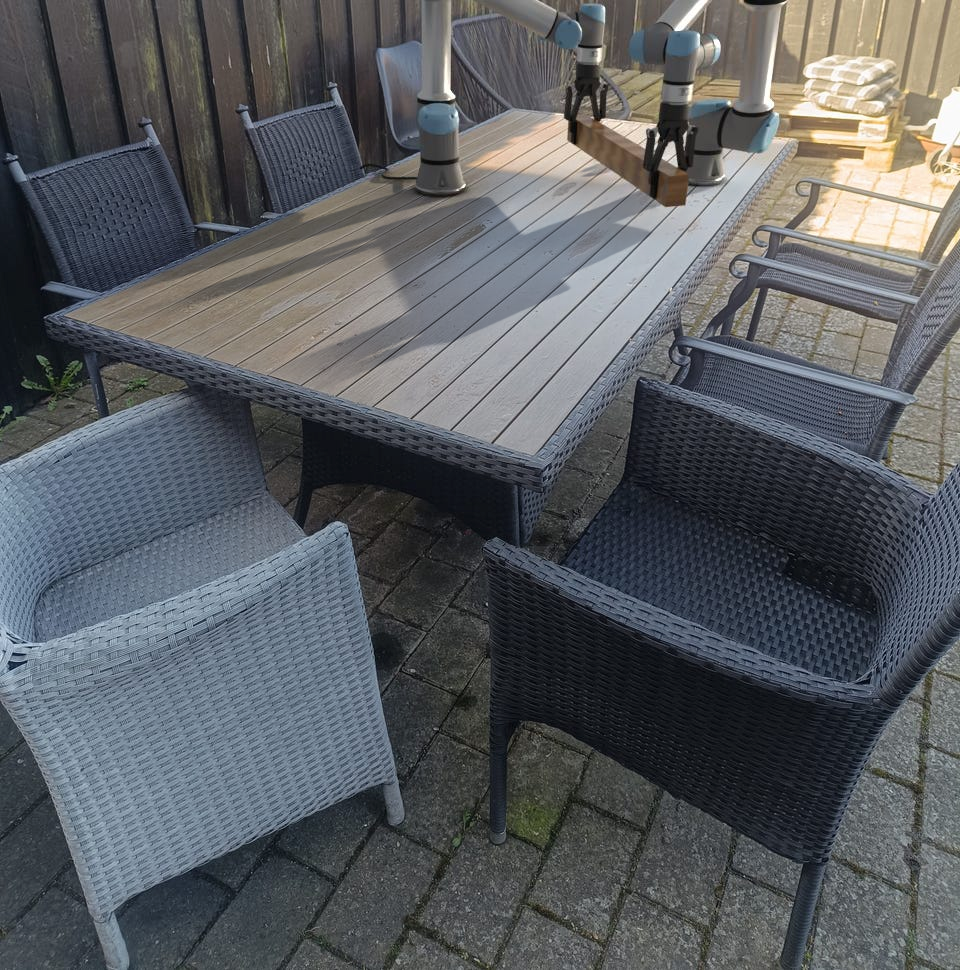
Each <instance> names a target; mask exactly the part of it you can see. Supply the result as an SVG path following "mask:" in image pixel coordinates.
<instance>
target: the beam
mask: <svg viewBox="0 0 960 970" xmlns="http://www.w3.org/2000/svg"><path fill="white" fill-rule="evenodd" d="M575 121H576V122H577V136H576V145H574V146H575V147H576V148H578V149H579V150H580V151H582V152H584V153H585V154H587V155H588V156H589V157H591V158H592V159H594V160H595V161H597V162H598V163H599V164H601V165H602V166H604V167H606V168H607V169H609V170H610V171H611V172H613V173H615V175H618V176H619V177H620V178H621V179H623V180H625V181H626V182H628V183H629V184H630V185H632V186H633V187H635V188H636V189H637V190H639V191H641V192H643V194H645V195H646V196H648V197H650V196H649V195H650V186H651V185H649V184H648V179H649V171H647V170H645V169H644V168H643V161H644V155H645V147H643V146H641V145H639V144H638V143H636V142H635V141H633V140H630V139H629V138H627V137H626V136H624V135H623V134H620V133H618V132H617V131H615V130H614V129H612V128H610V127H609V126H606V125H605V124H603V123H602V122H601V121H600V122H598V121H596V120H595V119H594V117H592V116H589V115H588V114H586V113H578V114H577V117H576V120H575ZM566 140H567V142H569V143H570V144H572V143H571V133H570V132H569V121H567V137H566ZM653 155H654V153H653ZM677 167H678V166H676V165H674V164H672V163H670V162H669V161H667V160H665V159H663V158H662V159H661V162H660V164H659V167H658V170H657V172H658V173H659V182H658V190H657V198H656V199H653V198H652V197H650V198H651V199H653V200H654V201H655V202H657V203H659V204H660V205H662V207H665V208H671V207H683V206H686V204H687V196H688V189H689V184H688V182H689V174H687V173H686V172H684V171H682V170H680V169H679V168H677Z"/></svg>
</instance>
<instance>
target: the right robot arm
mask: <svg viewBox="0 0 960 970" xmlns="http://www.w3.org/2000/svg"><path fill="white" fill-rule="evenodd" d="M788 1H789V0H743V4H744V5H745V6H746V7H747V17H746V27H745V36H744V45H743V54H742V62H741V63H742V64H741V72H740V82H739V92H738V98H737V99H736V100H735V101H734V102H733V103H731V100H729V99H726V98H714V99H713V98H712V99H704V100H699V101H695V102H693V104H691V101H692V99H693V91H694V84H695V78H696V77H695V76H696V72H697V71H699V70H705V69H708V68H709V67H710V66H712V65H714V64H715V63H716V62H717V61H718V59H719V57H720V55H721V51H722V49H721V42H720V41H719V38H718V37H717V36H715V35H714V34H711V33H701V34H700V33H699V32H698V31H697V30H696V31H695V30H691V29H690V28H691V27H692V26H693V24H694V23H695V22H696V21H697V19H698V18H699V17H700V16H701V15H702V13H703V12H704V11H705V10H706V9H707V7H708V6H709V5H710V4H711V2H713V0H674V1H673V2H672V3H671V4H669V6H668V8H667V9H665V11H664V12H663V13H662V14H661V15H660V17H659V18H658V19H657V20H656V21H655V23H654V24H653V25H652V26H651V27H650V29H646V28H645V29H638V30H636V31H634V32H633V34H632V36H631V38H630V41H629V48H628V49H629V57H630V58H631V60H632V61H633V62H635V63H641V64H644V65H654V66H655V65H656V66H664V67H663V68H664V70H663V78H662V85H661V93H660V100H661V101H660V102H659V110H658V111H659V112H658V122H657V124H656V126H655V127H652V128H649V127H648V128H646V130H645V135H646V143H645V147H644V149H645V155H644V161H643V168H644V169H645V170H647V171H649V179H648V184H649V185H651V186H650V195H649V196H648V197H650V198H651V197H652V198H651V199H653V200H654V199H656V198H657V190H658V182H659V173H658V172H657V170H658V167H659V164H660V162H661V159H663V156H664V154H665V151H666V148H667V147H669V144H670V143H672V142H673V143H674V147H675V148H674V149H675V155H676V163H677V166H676V167H677V168H679V169H680V170H682V171H684V172H686V173H687V174H689V182H688V185H693V186H714V185H715V186H716V185H720V184H722V183H723V182H724V181H725V177H726V176H725V175H726V173H725V167H724V160H723V150H724V149H727V150H733V151H738V152H744V153H747V154H762V153H764V152H766V151H767V150H768V149H769V147H770V146H771V144H772V143H773V141H774V139H775V136H776V134H777V131H778V129H779V124H780V114H779V113H777V112H776V111H774V106H775V104H774V101H772V99H771V98H770V96H771V88H772V81H773V80H772V79H773V73H774V65H775V58H776V50H777V43H778V34H779V27H780V20H781V13H782V7H783V6H784V5H785V4H786V3H788ZM731 105H732V106H731ZM657 134H658V135H659V137H658V135H657ZM685 134H686V135H685ZM684 135H685V138H684ZM657 137H658V140H657V145H656V138H657ZM684 139H685V140H684ZM684 141H685V142H684ZM655 145H656V148H655ZM653 154H654V155H653Z"/></svg>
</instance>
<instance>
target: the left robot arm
mask: <svg viewBox="0 0 960 970" xmlns="http://www.w3.org/2000/svg"><path fill="white" fill-rule="evenodd" d="M472 1H473V2H475V3H477V4H479V5H481V6H483V7H485V8H487V9H489V10H490V11H492V12H494V13H496V14H498V15H500V16H502V17H504V18H506V19H507V20H509V21H511V22H513V23H515V24H517V25H519V26H521V27H523V28H524V29H526V30H529V31H530V32H532V33H534V34H536V35H538V39H539V40H540V41H541V42H547V43H550V42H551V43H553V44H555V45H556V46H558V47H559V48H560V49H563V50H565V51H570V50H573V49H575V48H577V51H576V61H577V63H576V64H575V79H574V81H573V83H571V84H566V85H565V87H564V89H565V93H566V94H565V101H564V102H565V103H564V112H563V119H564V120H566V121H567V122H568V121H569V132H570V133H571V143H570V144H572V145H573V146H575V145H576V136H577V122H576V121H575V120H576V117H577V114H579V111H580V108H581V104H582V102H583V100H584V98H586V97H589V100H590V106H591V111H592V116H593V117H592V118H593V119H595V120H596V121H598V122H600V123H601V121H602V120H605V119H606V116H607V99H608V98H607V97H608V96H607V93H608V90H609V87H610V86H609V84H608V83H605V82H601V72H602V71H601V70H602V64H601V62H602V59H603V49H604V48H603V47H604V46H603V44H604V34H605V25H606V8H605V6H604V5H603V4H602V3H601V4H600V3H582V4H581V5H580V7H579V10H578V11H573V12H571V11H569V12H568V11H567V12H566V11H558V10H556V9H555V8H553V7H552V6H549V5H547V4H545V3H543V2H542V1H540V0H472ZM420 2H421V3H420V4H421V9H420V10H421V11H420V12H421V14H420V15H421V90H420V91H419V92H418V94H416V117H415V121H416V127H417V129H418V136H419V157H420V158H419V159H420V161H419V162H420V164H419V168H418V172H417V176H388V175H387V174H388V173H389V172H390V169H389V168H388V167H386V166H384V165H381V164H377V163H364V164H362V165H361V166H360V167H358V170H363V169H364V168H366V167H374V168H379V169H383V170H384V169H385V170H384V171H383V172H382V173H381V174H380V175H381V176H380V177H381V178H383V179H385V180H392V181H396V180H397V181H398V180H400V181H401V180H404V181H415V183H414V184H415V185H414V186H415V192H417V193H418V194H420V195H424V196H430V197H450V196H455V195H459V194H461V193H463V192H464V191H466V181H465V179H464V176H463V172H462V169H461V165H460V149H459V147H460V146H459V145H460V144H459V143H460V141H459V140H460V139H459V123H460V118H459V111H458V110H457V108H456V95H455V94H454V93H453V92H452V89H451V68H452V67H451V64H452V63H451V62H452V61H451V59H452V57H451V55H452V0H421V1H420ZM598 89H599V90H600V91H599V105H598V99H597V98H598V96H597V91H598ZM575 90H576V94H575V99H574V102H573V93H574V92H575ZM572 104H573V105H572Z"/></svg>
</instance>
